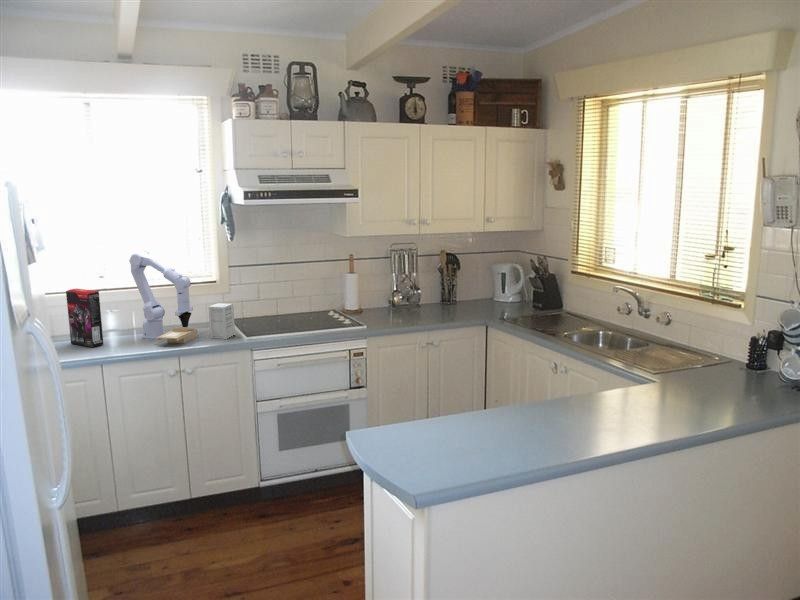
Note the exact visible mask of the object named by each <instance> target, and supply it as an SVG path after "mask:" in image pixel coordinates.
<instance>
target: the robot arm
mask: <svg viewBox="0 0 800 600" xmlns="http://www.w3.org/2000/svg"><path fill="white" fill-rule="evenodd" d="M129 264H130V272H131V275H132V278H133V279H134V282H135V284H136V287H137V289H138V291H139V293H140V296H141V299H142V300H143V303H144V305H143V308H142V310H143V316H144V319H145V320H144V321H143V323H142V334H143V336H142V339H157V337H159V336H161V335H163V334H165V333H164V332H165V331H164V321H163V320H164V316H165V312H166V311H165V309H164V307H163V306H162V305H161V302H159V301H158V300H156V298H155V295H154V294H153V291H152V289H151V286H150V285H149V282H148V279H147V277H146V275H145V269H146V267H148V266H150V267H152V268H153V269H155V270H157V271H158V272H160V273H161V274H163V278H165V280H168V281H169V282H170V283H172V284H173V286H174V288H175V289H176V297H177V310H176V311H175V312H174V316H176V317H178V319H179V320H180V323H181V326H182V328H188V326H189V322H190V318H191V316H192V311H193V310H194V306H191V304H190V303H191V302H190V290H189V289H190V288H189V287H190V286H191V279H190V278H189V277H188V276H187V275H183V274H182V273H179V272H178V271H176V269H175V268H172V267H167V266H166V265H164V264H163V263H162V262H160V261H159V260H157V258H155V257H154V254H151V253H150V252H149V251H143V252H138V253H133V254H132V255H130V258H129Z"/></svg>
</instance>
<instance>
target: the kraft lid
mask: <svg viewBox="0 0 800 600" xmlns="http://www.w3.org/2000/svg"><path fill="white" fill-rule="evenodd" d="M188 329H189V328H188V327H172V328H171V330H170V331H168V332H166V333H164V334H163V335H161V336H159V337H157V338H156V339H157V341H159V340H160V341H161V340H162V339H164V340H165V339H176V341H178V340H180V339H182V338H184V337H186V336H189V335H191V331H188Z"/></svg>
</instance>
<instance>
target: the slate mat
mask: <svg viewBox="0 0 800 600" xmlns="http://www.w3.org/2000/svg"><path fill="white" fill-rule="evenodd" d="M209 337H210V335H209V334H208V335H206V334H205V335H204V334H198V337H196V338H194V339H192V340H190V341H188V342H186V343H167V339H165V338H164V339H163V340H160V341H158V342H157V343H154V344H153V345H154V346H170V347H172V346H173V347H174V346H175V347H191V346H193V345H195V344H197V343H199V342H200V341H203V340H205V339H207V338H209Z"/></svg>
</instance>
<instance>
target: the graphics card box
mask: <svg viewBox="0 0 800 600" xmlns="http://www.w3.org/2000/svg"><path fill="white" fill-rule="evenodd" d="M65 293H66V294H65V295H66V304H67V305H66V306H67V314H68V315H67V316H68V326H69V337H70V344H71V345H77V346H85V347H91V348H94V347H100V346H103V345H104V335H103V325H102V313H101V312H102V311H101V302H100V292H99V290H91V289H86V288H85V289H83V288H72V289H71V288H70V289H68V290H66V291H65Z"/></svg>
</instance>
